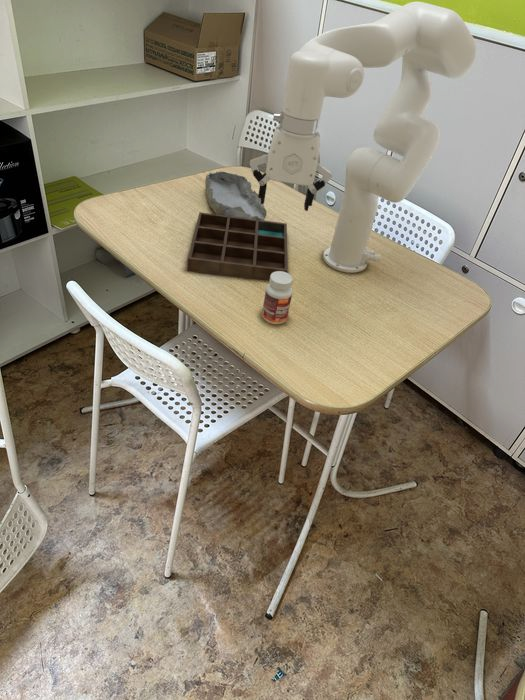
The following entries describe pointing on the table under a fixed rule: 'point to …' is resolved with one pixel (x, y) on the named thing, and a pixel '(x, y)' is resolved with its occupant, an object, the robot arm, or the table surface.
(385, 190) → the robot arm
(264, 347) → the table surface
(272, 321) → the pill bottle
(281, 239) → the grid board
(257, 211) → the stone
